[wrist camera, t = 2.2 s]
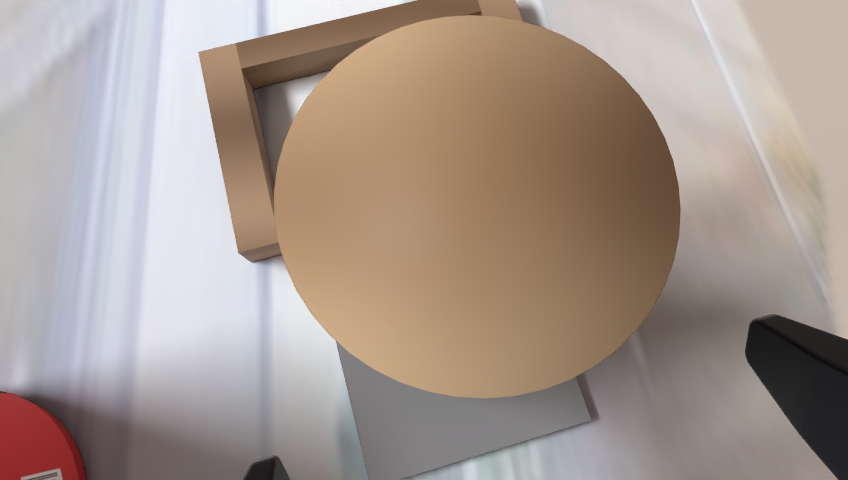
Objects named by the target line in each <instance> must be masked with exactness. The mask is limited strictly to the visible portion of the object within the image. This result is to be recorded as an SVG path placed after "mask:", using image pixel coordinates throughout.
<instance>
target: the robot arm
mask: <svg viewBox="0 0 848 480" xmlns="http://www.w3.org/2000/svg"><path fill="white" fill-rule="evenodd" d="M745 354H746V358H747V361H748V363H749V365H750V366H751V368H752V369H753V370H754V372H755V373H756V375H757V376H758V377H759V379H760V380H761V382H762V383H763V384H764V386H765V387H766V389H767V390H768V391H769V393H770V394H771V396H772V397H773V398H774V400H775V401H776V403H777V404H778V405H779V407H780V408H781V410H782V411H783V412H784V414H785V415H786V417H787V418H788V420H789V421H790V422H791V424H792V425H793V426H794V428H795V429H796V430H797V432H798V433H799V434H800V435H801V437H802V438H803V439H804V440H805V441H806V443H807V444H808V445H809V446H810V447H811V449H812V450H813V451H814V452H815V453H816V454H817V456H818V457H819V458H820V459H821V460H822V461H823V462H824V464H825V465H826V466H827V467H828V468H829V469H830V471H831V472H832V473H833V474H834V475H835V476H836V478H837V479H838V480H848V340H847V339H844V338H842V337H839V336H836V335H833V334H830V333H827V332H825V331H822V330H819V329H816V328H813V327H810V326H808V325H805V324H802V323H799V322H796V321H794V320H791V319H788V318H785V317H782V316H779V315H775V314H771V315H767V316H763V317H760V318H756V319H754V320H752V322H751V323H750V325H749V331H748V337H747V342H746V348H745ZM243 480H290V479H289V477H288V475H287V473H286V470H285V468H284V466H283V464H282V462H281V460H280V459H279V458H278V457H277V456H270V457H266V458H263V459H259V460H256V461H255V462H253V463H252V465H251V466H250V468H249V470H248V471H247V473H246V475H245V477H244V479H243Z"/></svg>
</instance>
